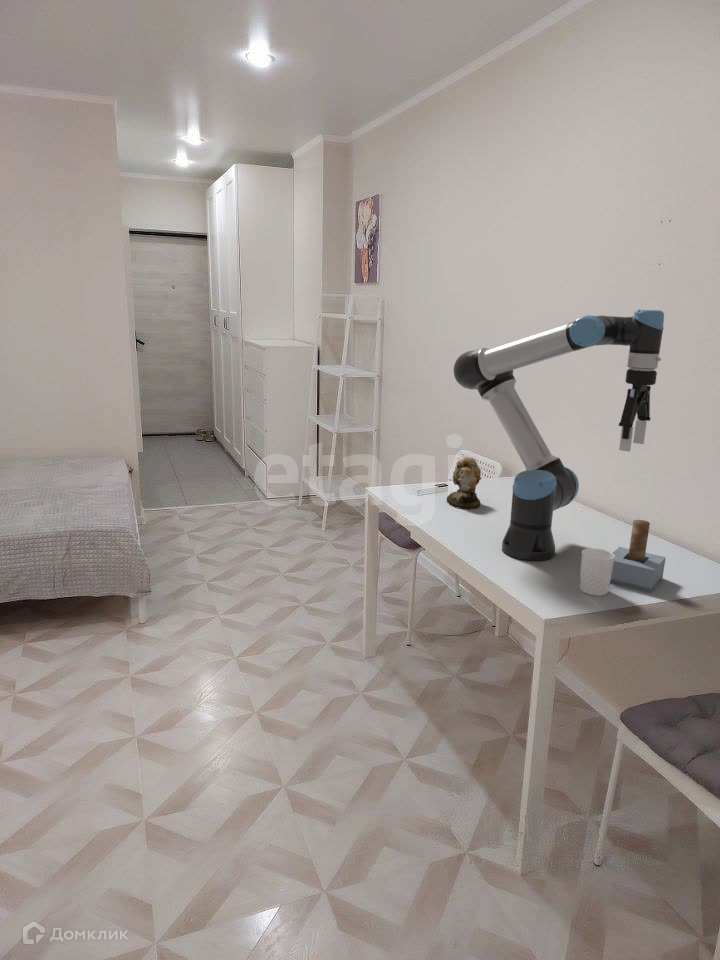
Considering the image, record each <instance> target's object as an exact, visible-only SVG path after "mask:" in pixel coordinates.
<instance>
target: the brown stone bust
mask: <svg viewBox="0 0 720 960" xmlns="http://www.w3.org/2000/svg"><path fill="white" fill-rule="evenodd" d="M455 467H456V468H454V471H453V472H452V473H453V474H452V482H453V485H456V486H458V489H456V491H453V492H450V494H448V495H447V496H446V502H447V504H448V503H449V506H451V505H452V506H451V507H453V506H454V507H453V508H456V507H458V508H457V509H460V508H462V509H461V510H475V509H479V508H480V506H481V500H480V499H479V498H478V496H477V493H476V489H477V485H478V484H479V483H480V481H481V479H482V478H481V476H482V475H481V467H480V466H478V463H477V460H476V459H475V458H473V457H472V456H464V457H463V458H462V459H459V460H457V461H456V466H455Z"/></svg>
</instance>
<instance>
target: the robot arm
mask: <svg viewBox="0 0 720 960" xmlns="http://www.w3.org/2000/svg"><path fill="white" fill-rule="evenodd" d="M664 322H665V313H664V311H662V310H659V309H636V310H635V311H634V312H633V316H626V317H625V316H614V315H613V316H612V315H611V316H610V315H609V316H607V315H585V316H581V317H579V318H577V319H575V320H574V321H571V322H568V323H565V324H563V325H560V326H557V327H553V328H551V329H548V330H547V329H546V330H545V331H541V332H538V333H536V334H533V335H530V336H527V337H523V338H520V339H517V340H514V341H511V342H508V343H505V344H502V345H500V346H496V347H493V348H488V347H482V348H479V349H476V350H475V349H474V350H468V351H466V352H464V353H462V354H461V355H459V356H458V357H457V359H456V361H455V362H454V365H453V376H454V379H455V380H456V382H457V384H458V385H460V386H461V387H462V388H464V389H468V390H477V392H478V394H479V395H480V398H481V399H482V400H484V401H488V402H489V403H490V405H491V407H492V408H493V409H492V410H494V413H495V415H496V416H497V418H498V419H499V422H500V424H501V426H502V427H503V429H504V431H505V432H506V435H507V436H508V438H509V439H510V442H511V443H512V446H513V447H514V449H515V451H516V453H517V454H518V456H519V458H520V460H521V462H522V464H523V465H524V468H525V470H523V471H521V472H519V473H518V474H516V475H515V476H514V479H513V480H514V481H513V484H512V497H511V509H510V520H509V521H510V522H509V526H508V528H507V530H506V533H505V535H504V537H503V540H502V543H501V551H502V552H503V553H504V554H505V555H507V556H509V557H512V558H514V559H519V560H524V561H533V562H534V561H535V562H538V561H547V560H551V559H552V558H554V557H555V556H556V555H555V554H556V544H555V540H554V536H553V531H552V524H553V513H554V511H556V510H559V509H560V508H563V507H565V506H568V505H569V504H570V503H571V502H573V500H574V499H575V498H576V497H577V495H578V493H579V491H580V490H579V489H580V483H579V478H578V477H577V474H576V473H575V471H573V470H572V469H570V468H568V467H566V466H564V464H563V462H562V460H561V458H560V457H558V456H555V455H554V454H552V453H551V451H550V450H549V447H548V446H547V444H546V442H545V441H544V438H543V436H542V435H541V433H540V432H539V430H538V427H537V426H536V424H535V422H534V421H533V419H532V417H531V416H530V413H529V412H528V410H527V408H526V406H525V405H524V403H523V401H522V399H521V398H520V395H519V393H518V392H517V390H516V388H515V385H516V382H517V380H516V378H515V376H514V370H517V369H520V368H524V367H527V366H530V365H535V364H537V363H539V362H543V361H547V360H550V359H554V358H556V357H560V356H563V355H567V354H569V353H572V352H576V351H580V350H584V349H586V348H589V347H595V346H605V345H608V346H611V345H612V346H613V345H614V346H626V347H627V346H629V350H628V356H627V357H628V359H627V365H626V366H627V368H628V369H627V370H626V374H625V383H626V384H630V385H632V386H631V387H632V388H627V393H626V399H625V403H624V406H623V410H622V413H621V414H622V415H621V418H620V421H619V423H618V427H621V432H620V439H619V440H620V441H619V447H618V448H619V449H618V451H622V452H631V448H632V443H633V444H638V445H639V444H640V445H644V444H645V438H646V432H647V431H646V430H647V422H648V421H649V422H650V421H651V414H650V413H651V411H650V410H651V409H650V407H651V405H650V404H651V402H650V401H651V389H652V388H651V386H654V385H655V384H656V382H657V375H658V372H657V370H656V369H658V366H659V362H661V361H662V359H661V357H660V352H661V346H662V345H661V344H662V340H663V339H662V338H663V333H664V332H663V331H664ZM636 417H637V419H636ZM634 422H635V425H634ZM633 425H634V426H633ZM633 432H634V434H633ZM632 440H633V441H632Z"/></svg>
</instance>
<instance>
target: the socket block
mask: <svg viewBox="0 0 720 960" xmlns="http://www.w3.org/2000/svg"><path fill="white" fill-rule="evenodd" d="M612 553H613V554H614V555H615V560H614V565H613V571H612V575H611V580H610V583H612V584H617V585H621V586H625V587H628V588H632V589H636V590H640V591H643V592H644V591H645V592H649V593H652V592H653V591H654V590H655V588H656V587H657V585H659V583H660V582H661V581H662V580H663V578H664V573H665V571H664V570H665V563H666V557H665V556H661V555H658V554H653V553H648V552H646V553H645V560H644V563H640V562H636V561H632V560H628V556H629V548H627V547H622V546H619V547H618V548H616V550H614V551H613V552H612Z"/></svg>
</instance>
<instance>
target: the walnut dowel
mask: <svg viewBox="0 0 720 960" xmlns="http://www.w3.org/2000/svg"><path fill="white" fill-rule="evenodd" d="M631 527H632V528H631V535H630V542H629V548H628V549H629V556H628V560H632V561H636V562H640V563H644V560H645V553H647V552H646V551H647V546H648V545H647V544H648V540H649V539H648V538H649V530H650V522H649V521H648V520H644V519H634V520H633V521H632V526H631Z"/></svg>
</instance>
